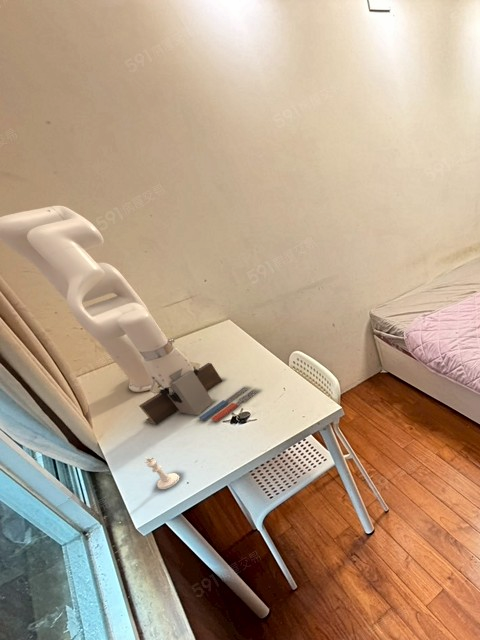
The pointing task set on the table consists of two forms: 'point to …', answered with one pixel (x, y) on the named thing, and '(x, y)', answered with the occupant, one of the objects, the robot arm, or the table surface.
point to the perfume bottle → (189, 393)
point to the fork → (232, 406)
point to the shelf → (164, 406)
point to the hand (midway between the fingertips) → (188, 394)
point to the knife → (221, 405)
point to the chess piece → (162, 475)
